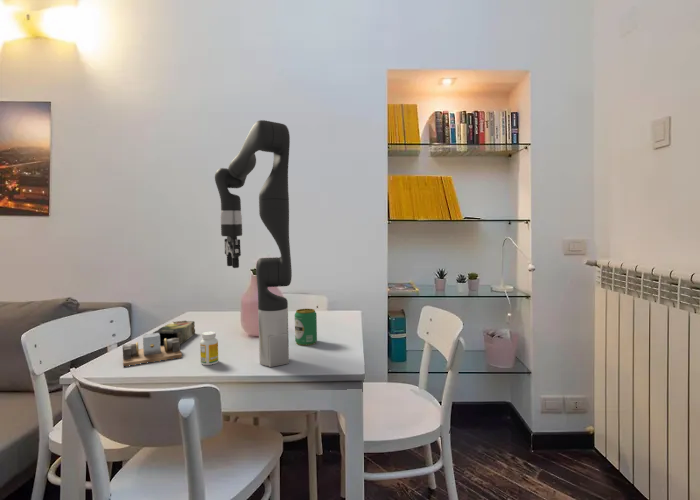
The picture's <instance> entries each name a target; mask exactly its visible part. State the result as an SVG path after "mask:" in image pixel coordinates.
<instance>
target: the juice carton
mask: <svg viewBox="0 0 700 500" xmlns="http://www.w3.org/2000/svg"><path fill="white" fill-rule="evenodd" d="M152 333H159V334H160V343H161V342H164V339H165V338H166V339H169V337H171V336H172V335H174V338H179V342H180V345H181V344H184V343H185V342H187V341H188V340H189V339H190V338H191V337H192V336H194V335H195V334H196V328H195V321H194V320H188V321H187V320H181V321H180V320H179V321H178V320H177V321H171V322H169V323H167V324H165V325H164V326H162V327H159V328H158V329H157V330H155V331H153V332H152Z"/></svg>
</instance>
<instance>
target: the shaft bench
mask: <svg viewBox="0 0 700 500" xmlns="http://www.w3.org/2000/svg"><path fill="white" fill-rule="evenodd" d="M160 346H161V353H160V354H153V355H147V356H144V353H143V348H139V341H136V342H135V343H133V344H131V343H130V344H129V343H128V344H123V345H122V362H123V363H122V365H123V366H128V367H130V366H129V365H134V366H136V365H135V364H140V363H146V364H148V363H147V362H153V363H155V362H154V361H159V362H161V361H160V360H165V361H168V360H167V359H171V360H174V359H173V358H177V359H182V358H183V353H182V351H181V350H180V346H181V344H180V342H179V338H175V337H171V338H165V339H164V340H163V345H160ZM181 357H182V358H181ZM140 365H141V364H140Z"/></svg>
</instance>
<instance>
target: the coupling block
mask: <svg viewBox="0 0 700 500" xmlns="http://www.w3.org/2000/svg"><path fill="white" fill-rule="evenodd" d="M161 346H162V345H161V342H160V334H159V333H153V332H152V333H145V334H142V349H143V353H144V356H147V355H153V354H160V353H161Z"/></svg>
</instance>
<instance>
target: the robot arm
mask: <svg viewBox="0 0 700 500" xmlns="http://www.w3.org/2000/svg"><path fill="white" fill-rule="evenodd" d="M290 138H291V137H290V131H289V128H288V126H287V125H286V124H285V123H281V122H275V121H270V120H264V119H262V120H261V119H260V120H257V121H255V122H254V124H253V125H252V127H251V128H250V130H249V132H248V134H247V136H246V138H245V140H244V142H243V144H242V146H241V148H240V150H239V152H238V154H236V156H235V157H234V158H233V159H232V160H231V162H230V163H229V164H228V167H227V168H224V167H220V168H218V169H217V170H216V171H215V174H214V182H215V185H216V188H217V191H218V194H219V199H220V211H221V212H220V232H221V233H220V234H221V235H220V236H221V237H226V238H224V254H225V256H226V266H227V267H232V268H233V269H238V268H239V267H240V257H241V255H242V252H241V239H239V238H238V237H242V236H243V216H242V215H243V214H242V206H241V205H242V204H241V203H242V201H241V197H240V196H239V195H237V194H234V193H231V192H230V190H229V189H240V188H243V187H244V186H245V183H246V180H247V176H249V174H250V173H251V172H252V171H253V170H254V169H255V167H256V164H257V157H256V154H255V153H256V152H259V151H260V152H264V153H265V152H266V153H272V154H273V163H272V167H271V170H270V174H268V177H267V178H266V180H265V182H264V183H263V185H262V187H261V189H260V191H259V195H258V208H259V209H258V211H259V212H258V213H259V214H258V215H259V217H260V220H261V221H262V223H263V225H264V226H265V228H266V229H267V230H268V232H269V233H270V234H271V237H272V238H273V239H274V242H275V243H276V245H277V247H278V249H279V253H280V256H279V257H277V256H276V257H260V258H258V259H257V261H256V263H255V264H256V266H255V271H256V272H255V274H256V287H257V310H258V311H257V313H258V318H257V319H258V349H259V350H258V351H259V353H258V354H259V364H260V365H262V366H266V367H269V368H272V367H277V366H282V365H287V364H289V361H290V348H289V347H290V346H289V345H290V344H289V306H288V305H289V303H288V299H287V298H286V297H284V296H281V295H278V294H275V293H273V292H272V291H270V290H269V288H273V287H274V288H277V287H288V286H290V285H291V282H292V276H293V275H292V258H291V245H290V243H291V242H290V197H289V196H290V195H289V161H290V160H289V158H290V144H291V143H290V142H291V141H290V140H291V139H290Z"/></svg>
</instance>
